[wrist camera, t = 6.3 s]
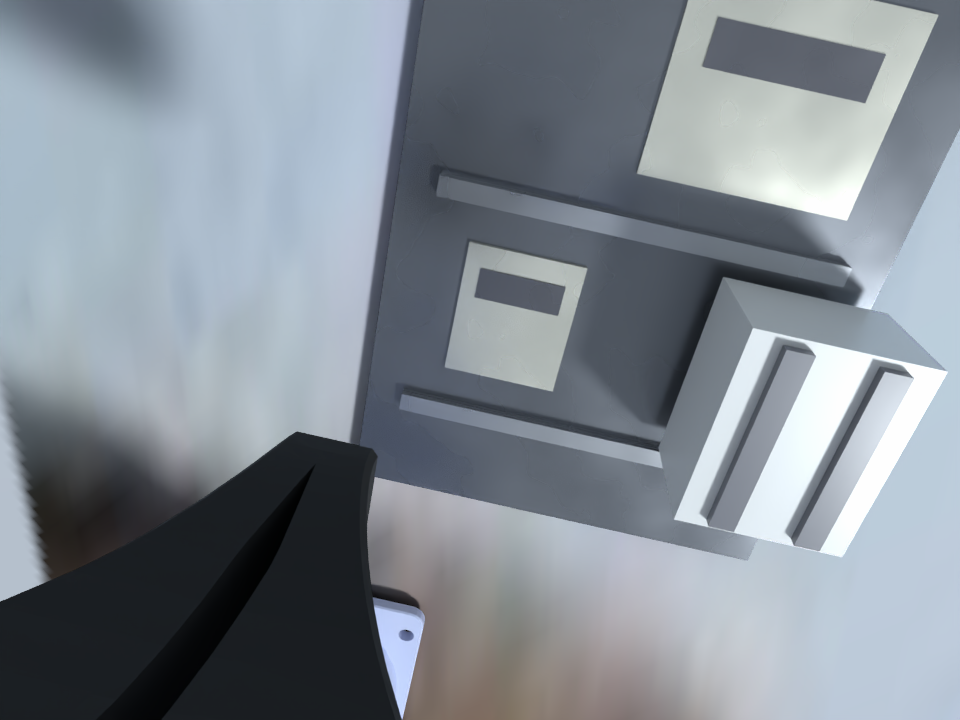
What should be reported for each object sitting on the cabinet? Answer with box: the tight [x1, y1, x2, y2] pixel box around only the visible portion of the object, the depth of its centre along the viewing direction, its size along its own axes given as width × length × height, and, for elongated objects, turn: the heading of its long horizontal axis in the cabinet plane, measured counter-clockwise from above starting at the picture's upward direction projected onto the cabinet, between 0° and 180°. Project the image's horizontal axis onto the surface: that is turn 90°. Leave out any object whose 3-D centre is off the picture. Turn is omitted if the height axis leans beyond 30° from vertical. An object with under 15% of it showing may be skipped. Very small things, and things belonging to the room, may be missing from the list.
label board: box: [359, 0, 960, 561], centre depth 18 cm, size 16×12×1 cm
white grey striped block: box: [659, 277, 947, 557], centre depth 17 cm, size 5×4×3 cm
